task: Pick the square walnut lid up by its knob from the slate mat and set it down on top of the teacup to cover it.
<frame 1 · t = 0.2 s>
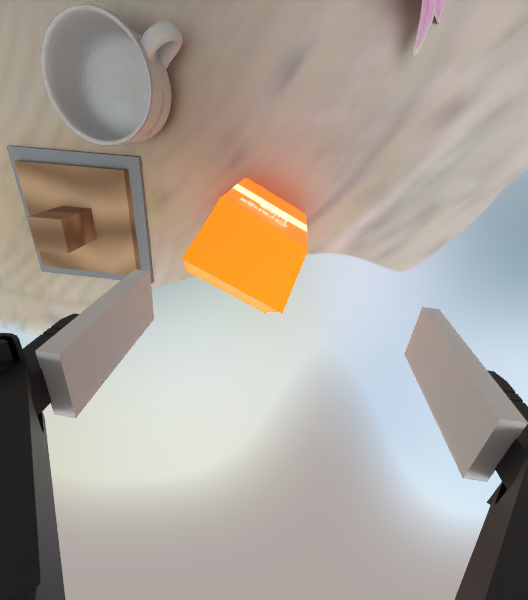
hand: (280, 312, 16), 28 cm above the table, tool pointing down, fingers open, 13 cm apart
orange juice: (262, 220, 42), on the table
mat: (87, 219, 44), on the table
lid: (85, 220, 43), point 1 cm above the table, touching mat
teacup: (147, 85, 36), on the table
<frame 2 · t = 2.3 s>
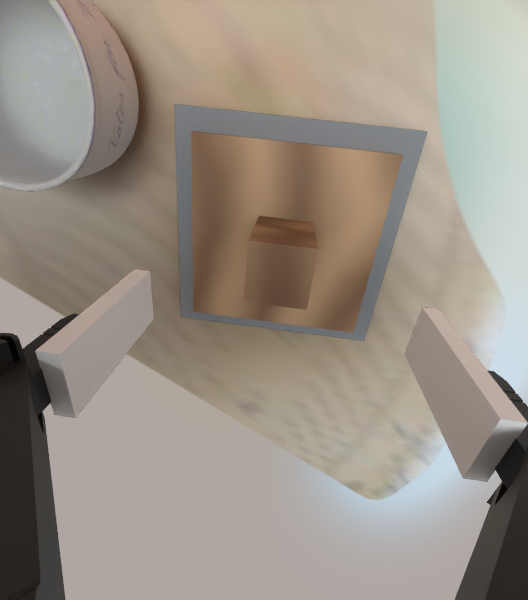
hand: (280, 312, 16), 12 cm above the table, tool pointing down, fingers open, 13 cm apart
mat: (283, 237, 26), on the table
lid: (283, 240, 25), point 1 cm above the table, touching mat
teacup: (70, 67, 22), on the table
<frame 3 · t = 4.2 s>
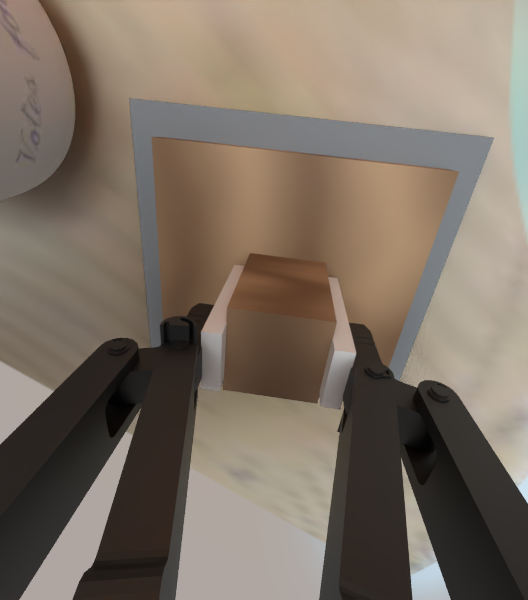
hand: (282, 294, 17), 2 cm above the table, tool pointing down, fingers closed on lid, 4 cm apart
mat: (284, 278, 19), on the table
lid: (283, 282, 19), point 1 cm above the table, touching gripper, mat
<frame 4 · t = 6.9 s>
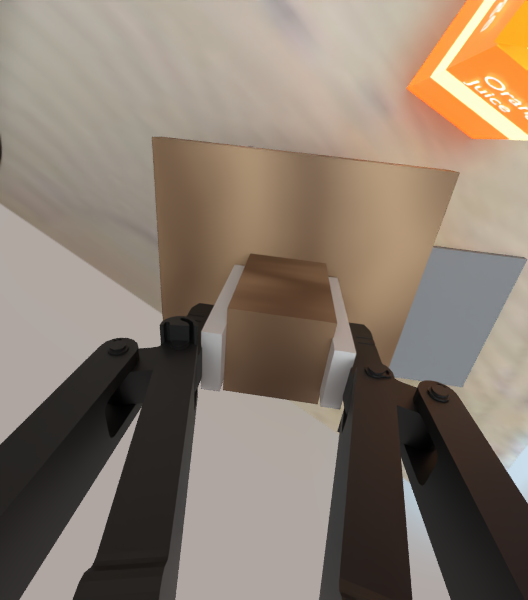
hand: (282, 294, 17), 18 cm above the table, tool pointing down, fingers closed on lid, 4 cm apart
orange juice: (478, 61, 26), on the table
mat: (412, 316, 37), on the table
lid: (284, 283, 19), point 17 cm above the table, touching gripper
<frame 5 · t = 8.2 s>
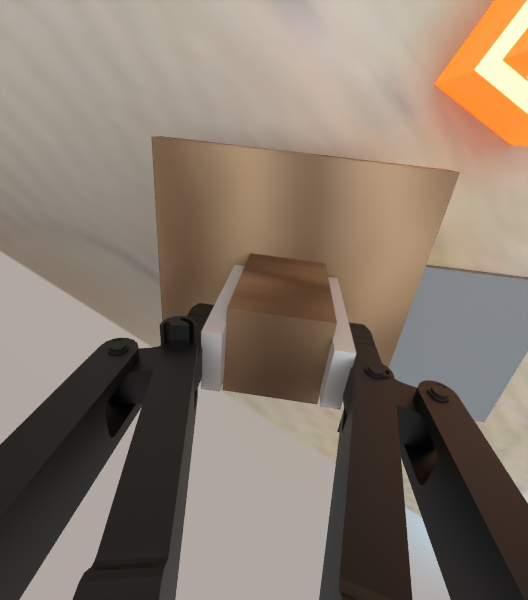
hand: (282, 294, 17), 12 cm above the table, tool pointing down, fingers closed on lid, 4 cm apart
orange juice: (523, 51, 21), on the table
mat: (431, 346, 32), on the table
lid: (283, 282, 19), point 11 cm above the table, touching gripper
when the fingers open (11 cm above the table, at t = 9.4 s): lid drops 2 cm, resting on teacup.
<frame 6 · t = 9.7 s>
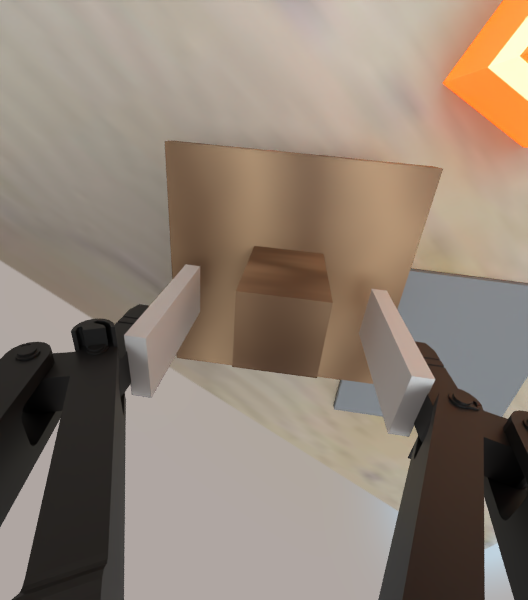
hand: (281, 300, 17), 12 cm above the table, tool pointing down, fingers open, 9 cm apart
mat: (437, 355, 31), on the table
lid: (285, 273, 20), point 8 cm above the table, touching teacup
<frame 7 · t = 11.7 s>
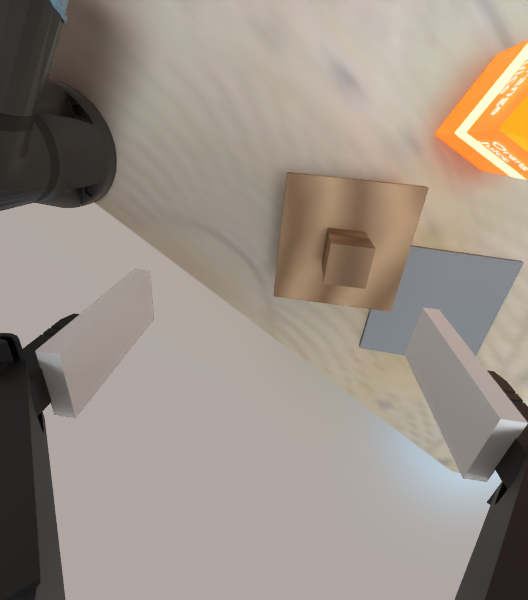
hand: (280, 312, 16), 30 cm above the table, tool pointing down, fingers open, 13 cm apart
orange juice: (488, 116, 36), on the table
mat: (432, 307, 46), on the table
lid: (341, 244, 36), point 8 cm above the table, touching teacup
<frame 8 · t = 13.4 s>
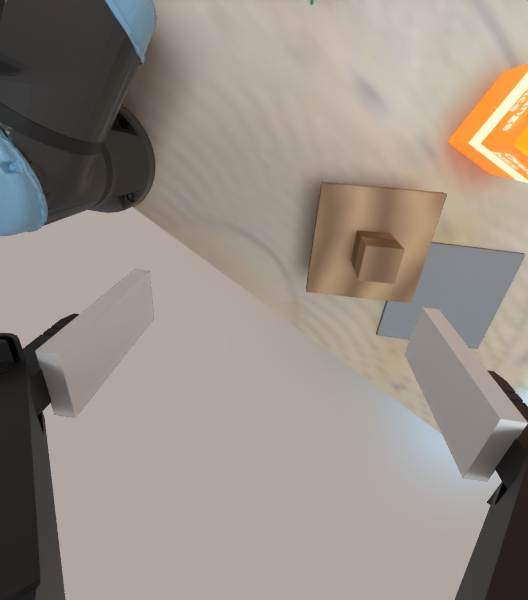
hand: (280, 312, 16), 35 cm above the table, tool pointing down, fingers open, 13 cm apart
orange juice: (495, 125, 40), on the table
mat: (443, 296, 51), on the table
lid: (368, 244, 41), point 8 cm above the table, touching teacup
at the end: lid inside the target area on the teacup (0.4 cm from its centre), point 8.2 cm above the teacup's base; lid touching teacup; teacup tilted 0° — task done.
